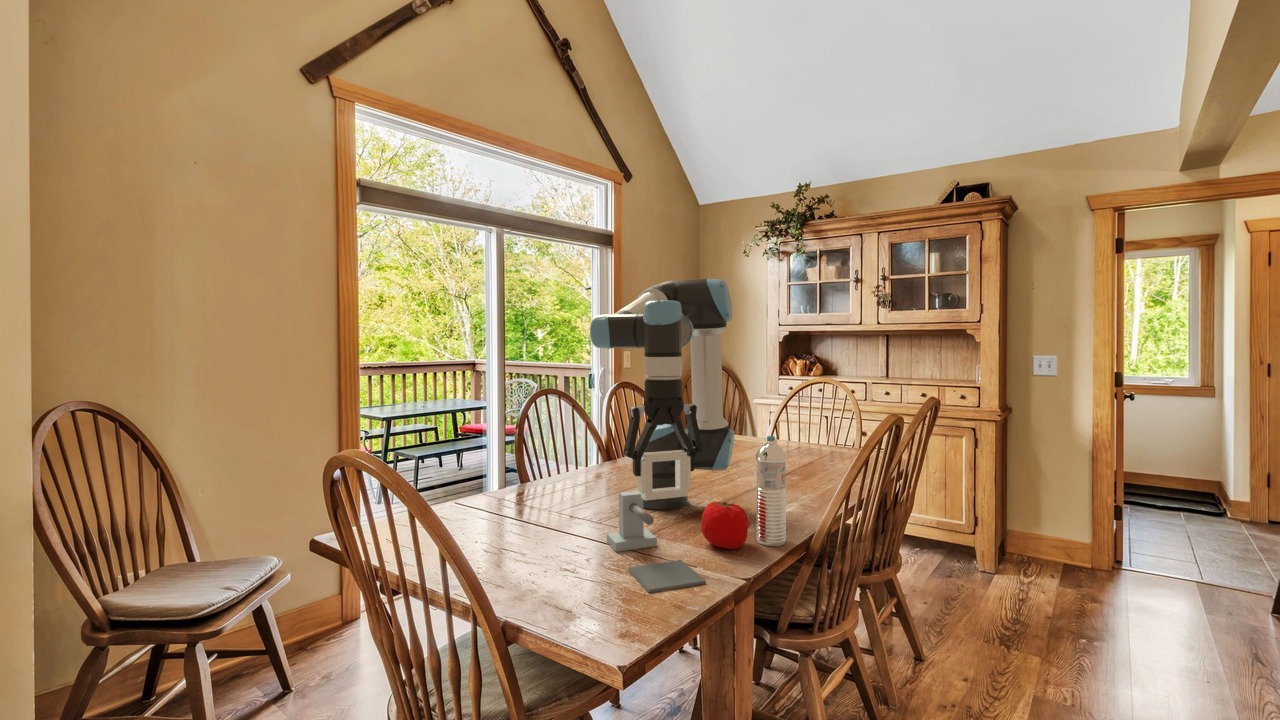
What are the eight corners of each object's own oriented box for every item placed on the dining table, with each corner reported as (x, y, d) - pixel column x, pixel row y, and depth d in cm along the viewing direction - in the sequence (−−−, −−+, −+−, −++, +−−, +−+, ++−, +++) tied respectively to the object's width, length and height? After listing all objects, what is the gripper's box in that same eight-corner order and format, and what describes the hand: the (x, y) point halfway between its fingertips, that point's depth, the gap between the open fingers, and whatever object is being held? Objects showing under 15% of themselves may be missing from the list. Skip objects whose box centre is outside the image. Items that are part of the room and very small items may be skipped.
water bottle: (767, 535, 146) (766, 433, 145) (791, 542, 141) (791, 436, 140) (750, 542, 141) (750, 436, 141) (775, 549, 136) (775, 440, 136)
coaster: (680, 562, 129) (680, 559, 129) (705, 583, 118) (705, 580, 118) (628, 570, 125) (628, 567, 125) (648, 592, 114) (648, 589, 114)
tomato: (724, 558, 131) (724, 512, 131) (689, 542, 142) (689, 499, 141) (762, 548, 137) (762, 504, 137) (726, 533, 148) (726, 492, 147)
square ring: (682, 493, 124) (681, 449, 123) (687, 496, 121) (686, 451, 121) (641, 497, 121) (640, 452, 120) (645, 500, 118) (644, 455, 118)
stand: (606, 541, 143) (606, 491, 142) (646, 536, 146) (645, 487, 146) (627, 564, 128) (627, 508, 128) (671, 558, 131) (670, 504, 131)
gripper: (704, 375, 127) (704, 481, 128) (605, 378, 120) (606, 490, 121) (720, 377, 120) (721, 489, 121) (617, 380, 113) (618, 499, 114)
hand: (664, 489), depth 121 cm, fingers closed on square ring, 9 cm apart
